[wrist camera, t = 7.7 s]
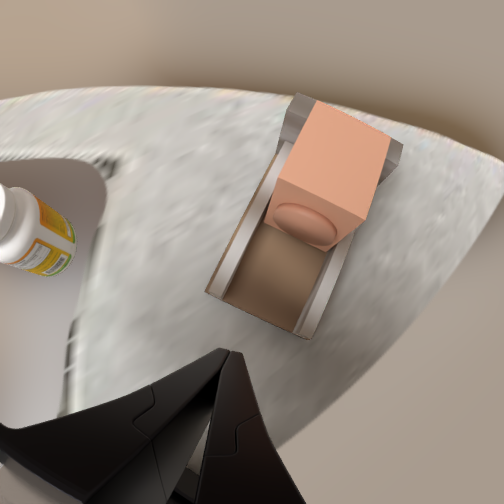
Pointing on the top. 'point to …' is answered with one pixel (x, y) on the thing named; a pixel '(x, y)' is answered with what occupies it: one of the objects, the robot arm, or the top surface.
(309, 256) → the rail
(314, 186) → the peach knobbed cube
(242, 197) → the top surface
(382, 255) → the top surface
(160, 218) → the top surface
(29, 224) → the supplement bottle
